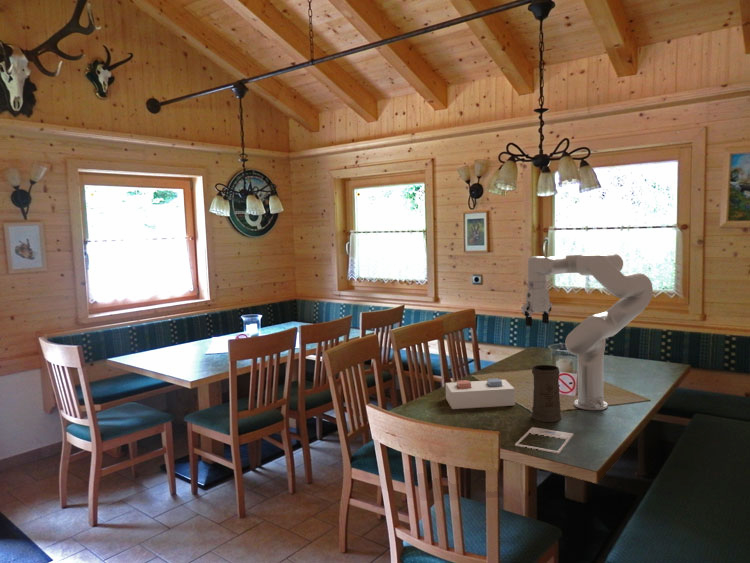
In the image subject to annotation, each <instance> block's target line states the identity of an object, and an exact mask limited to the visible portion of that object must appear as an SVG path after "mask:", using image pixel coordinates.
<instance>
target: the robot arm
mask: <svg viewBox="0 0 750 563" xmlns="http://www.w3.org/2000/svg"><path fill="white" fill-rule="evenodd" d="M527 262H528V263H527V266H528V267H527V281H528V282H527V283H526V284H527V285H526V287H528V288H527V290H526V295H525V296H526V297H525V304H524V305H522V306H521V307H520V309H521V311H522V314H523V316H524V317H525V326H528V327H532V326H533V317H532V315H533V313H542V315H541V316H542V317H541V319H542V320H541V322H542V324H546V325H547V324H549V323H550V320H549V319H550V317H549V316H550V313H551V311H552V308H553V305H554V304H553V302H551V301H550V293H549V289H548V287H547V276H552V275H554V276H555V275H559V274H560V275H561V274H579V275H581V276H592V277H593V278H594V279H595V280H596V281H597V282H598V283H599V284H600V285H601V286H603V288H604V289H606V290H607V292H609V293H610V294H611V295H612V296H614V297H616V298H619V300H617V301H616V302H615V303H614V304H613V305H612V306H610V307H609V308H608V309H607V310H605V311H602V312H599V313H595V314H591V315H590V316H588V317H586V318H584V320H583V321H582V322H580V323H579V324H578V325H577V326H576V327H574V328H573V329H572V330H571V331H570V332H569V333H568V334H567V335H566V338H565V342H564V345H565V349H566V351H568V353H569V354H572V355H573V356H578V358H577V399H575V400H574V401H573V405H574V407H576V408H578V409H581V410H585V411H603V410H605V409H607V408H608V407H609V406H608V405H609V403H608V402H607V401H605V400H604V356H605V349H606V339H607V338H611V337H613V336H615V335H616V334H618V333H619V332H620V331H621V330H622V329H624V328H625V327H626V326H627V325H628V324H630V323H631V322H632V321H633V320H634V319H635V318H637V316H639V315H640V314H641V313H642V312H643V311H644V310H645V309H646V308H647V307H648V306H649V305H650V303H651V300H652V298H653V293H654V291H653V289H654V287H653V283H652V281H651V279H650V278H649V277H648V276H647V275H646V274H644V273H642V272H641V273H640V272H631V273H625V274H623V273H622V272H621V271H622V269H623V267H624V260H623V258H622V257H621V256H620V255H619V254H617V253H614V252H602V253H601V252H600V253H599V252H598V253H582V254H570V255H568V254H567V255H554V256H546V257H545V256H543V255H542V256H541V255H535V256H534V255H533V256H530V257H529V258H528V261H527Z"/></svg>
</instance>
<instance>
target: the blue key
mask: <svg viewBox="0 0 750 563" xmlns="http://www.w3.org/2000/svg"><path fill="white" fill-rule="evenodd" d="M501 380H502V379H500V378H497V377H496V378H487V379H486V381H487V385H488V386H489V387H502V381H501Z"/></svg>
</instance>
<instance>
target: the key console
mask: <svg viewBox="0 0 750 563" xmlns="http://www.w3.org/2000/svg"><path fill="white" fill-rule="evenodd" d="M500 380H501V381H502V387H489V386H488V385H487V380H475V381H473V380H472V381H470V383H471V388H468V389H458V388H457V381H455V382H454V381H453V382H445V399H446V401H447V402H448V404H449V406H450V408H451V409H452V410H461V409H476V408H494V407H507V406H509V407H510V406H516V392H515V387H514V386H512V384H511V383H510V382H508V381H507V379H500Z"/></svg>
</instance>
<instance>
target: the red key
mask: <svg viewBox="0 0 750 563" xmlns="http://www.w3.org/2000/svg"><path fill="white" fill-rule="evenodd" d="M456 382H457V388H458V389H468V388H471V383H470V382H471V381H470V380H469V379H464V380H462V379H461V380H456Z"/></svg>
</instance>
